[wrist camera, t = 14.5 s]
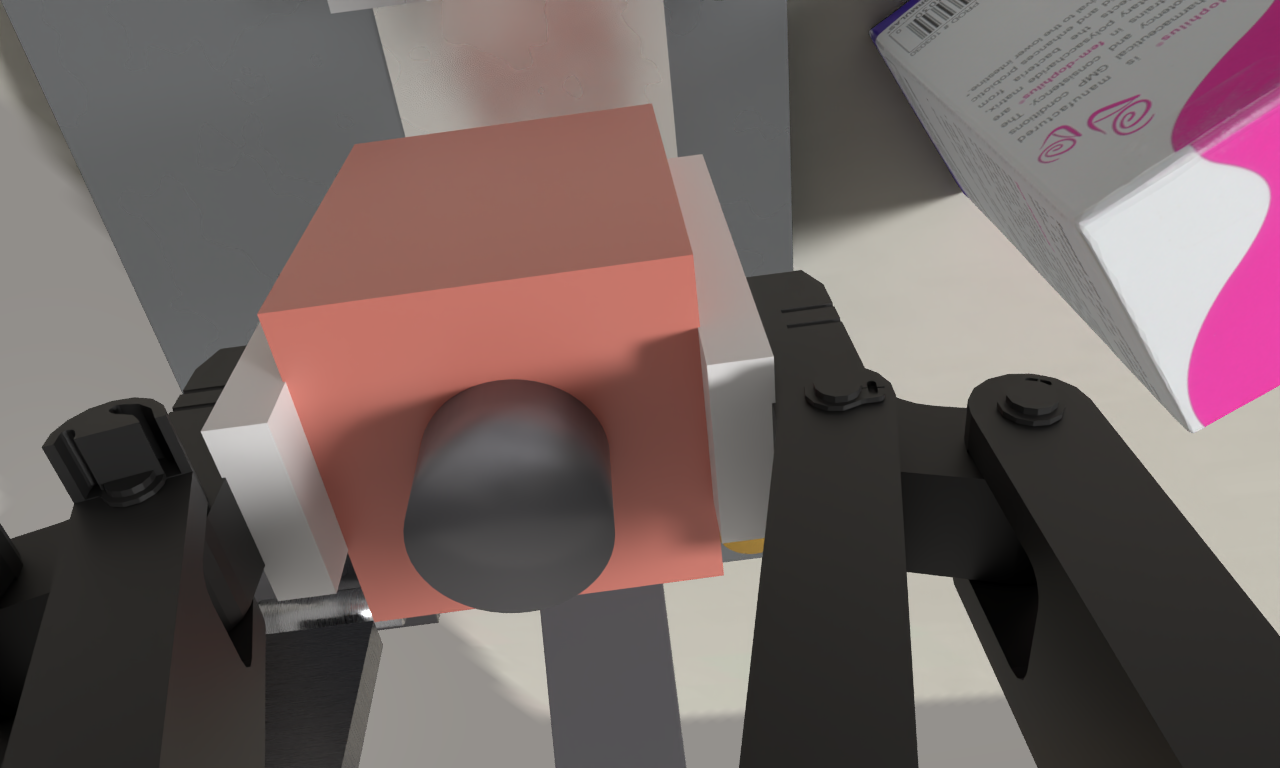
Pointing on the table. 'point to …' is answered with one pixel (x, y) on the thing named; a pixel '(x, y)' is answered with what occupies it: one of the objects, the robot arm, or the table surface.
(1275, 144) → the supplement box
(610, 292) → the cap
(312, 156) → the metal switch board
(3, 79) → the table surface
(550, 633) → the switch lever
